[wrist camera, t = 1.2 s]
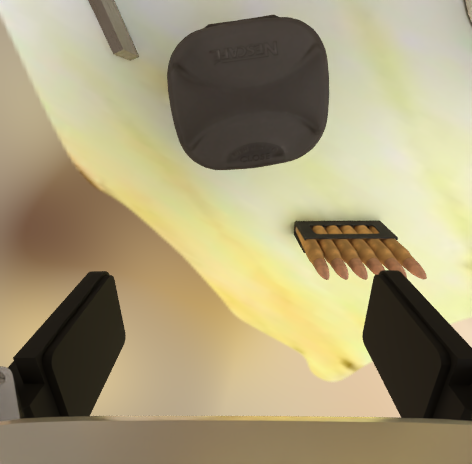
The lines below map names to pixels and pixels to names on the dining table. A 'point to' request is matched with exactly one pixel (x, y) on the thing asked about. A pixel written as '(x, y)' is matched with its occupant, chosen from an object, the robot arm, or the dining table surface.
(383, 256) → the ammunition clip
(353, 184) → the dining table surface
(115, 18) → the hinge
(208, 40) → the coffee jar
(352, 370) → the dining table surface
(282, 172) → the dining table surface
